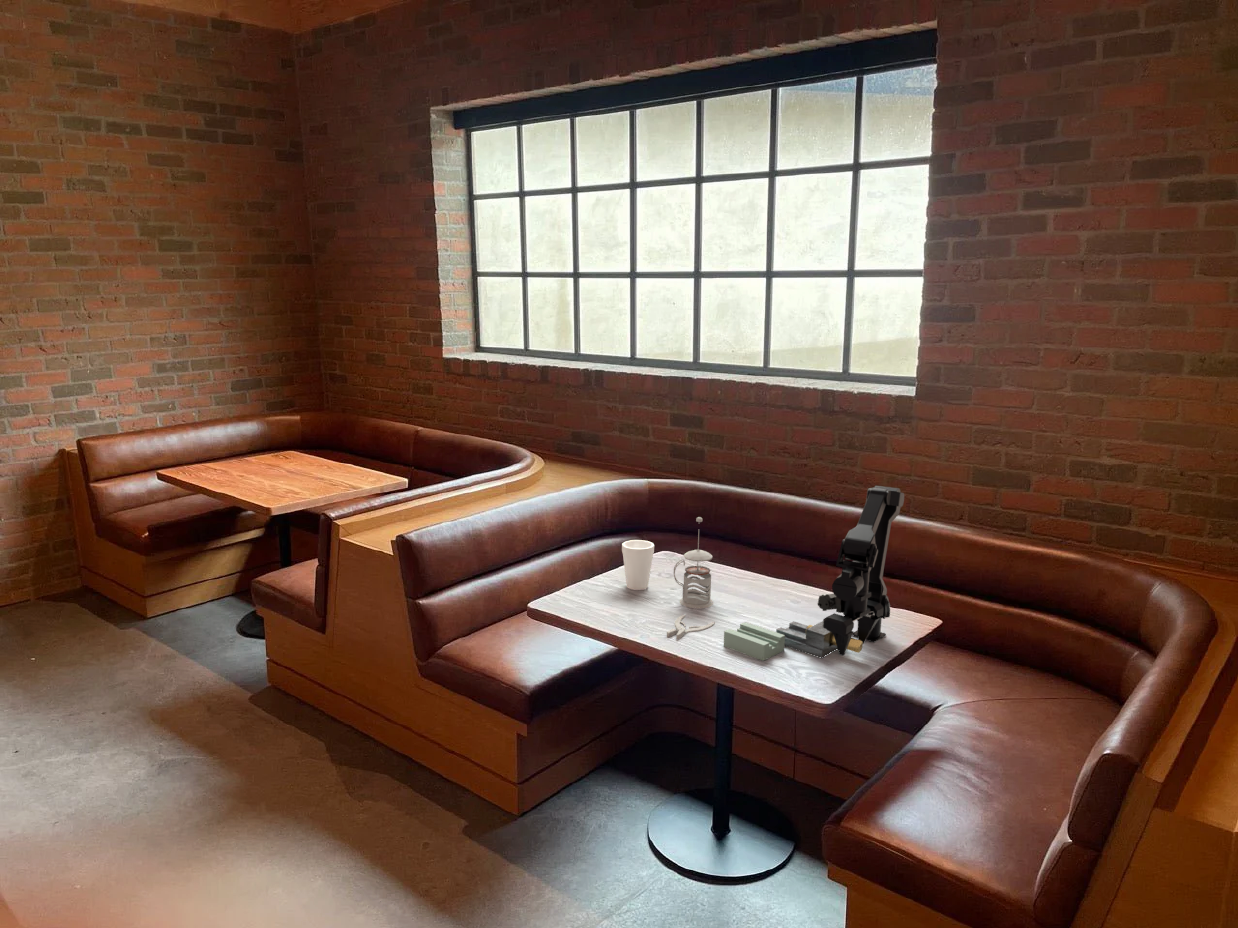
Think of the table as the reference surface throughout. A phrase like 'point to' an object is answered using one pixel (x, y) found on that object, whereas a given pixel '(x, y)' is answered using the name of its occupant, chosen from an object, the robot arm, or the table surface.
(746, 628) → the v block
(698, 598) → the french press
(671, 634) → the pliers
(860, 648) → the axle
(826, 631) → the grey slotted block
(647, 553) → the foam cup
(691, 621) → the table surface
